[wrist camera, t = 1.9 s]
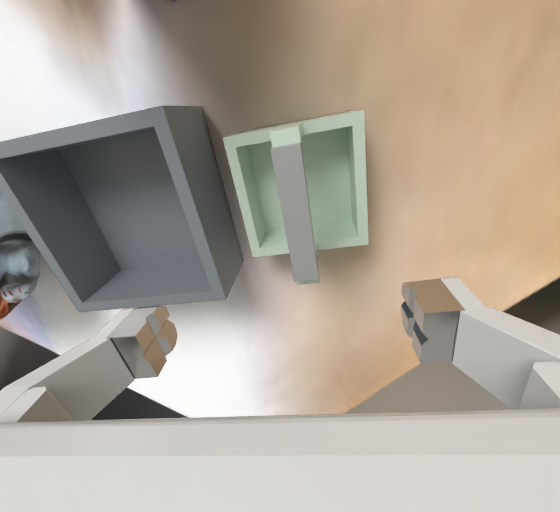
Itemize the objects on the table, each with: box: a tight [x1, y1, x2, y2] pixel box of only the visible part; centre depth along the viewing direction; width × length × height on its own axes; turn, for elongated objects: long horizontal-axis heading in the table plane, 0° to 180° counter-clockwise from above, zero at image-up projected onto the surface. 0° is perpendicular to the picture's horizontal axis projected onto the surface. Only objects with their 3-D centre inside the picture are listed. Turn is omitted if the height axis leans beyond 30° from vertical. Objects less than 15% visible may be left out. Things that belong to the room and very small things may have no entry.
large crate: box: [0, 106, 243, 312], centre depth 25 cm, size 15×15×7 cm
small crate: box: [223, 110, 369, 285], centre depth 21 cm, size 10×10×10 cm
